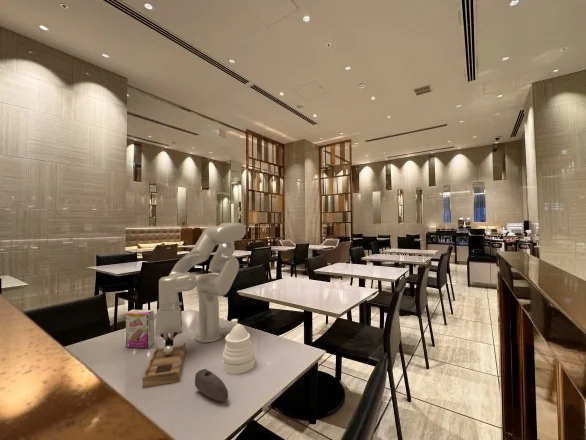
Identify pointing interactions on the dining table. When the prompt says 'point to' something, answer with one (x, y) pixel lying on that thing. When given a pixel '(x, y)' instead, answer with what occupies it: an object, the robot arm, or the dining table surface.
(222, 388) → the perforated stone tool
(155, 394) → the dining table surface
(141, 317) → the candy bar box
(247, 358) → the honey pot
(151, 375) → the track
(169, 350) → the ball
